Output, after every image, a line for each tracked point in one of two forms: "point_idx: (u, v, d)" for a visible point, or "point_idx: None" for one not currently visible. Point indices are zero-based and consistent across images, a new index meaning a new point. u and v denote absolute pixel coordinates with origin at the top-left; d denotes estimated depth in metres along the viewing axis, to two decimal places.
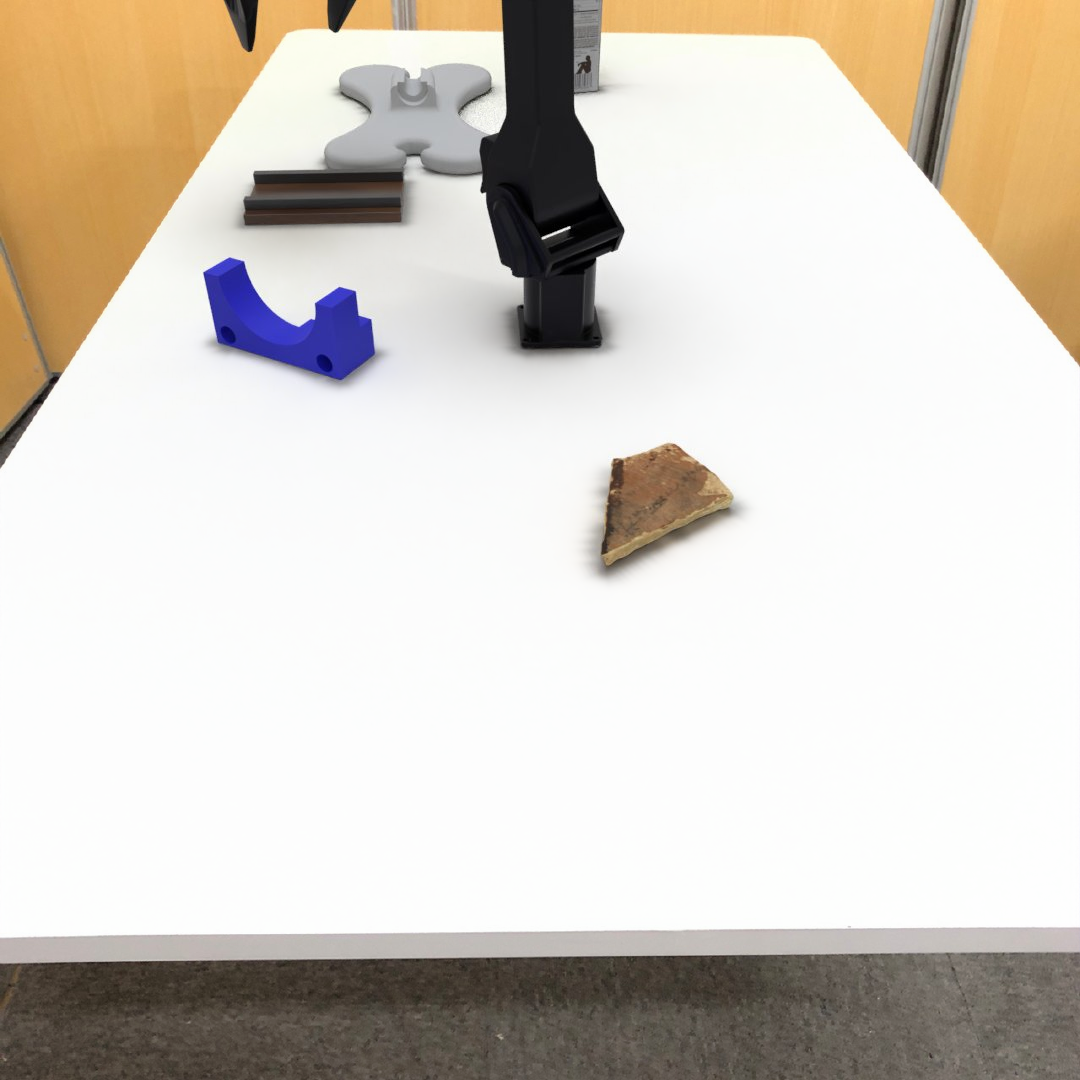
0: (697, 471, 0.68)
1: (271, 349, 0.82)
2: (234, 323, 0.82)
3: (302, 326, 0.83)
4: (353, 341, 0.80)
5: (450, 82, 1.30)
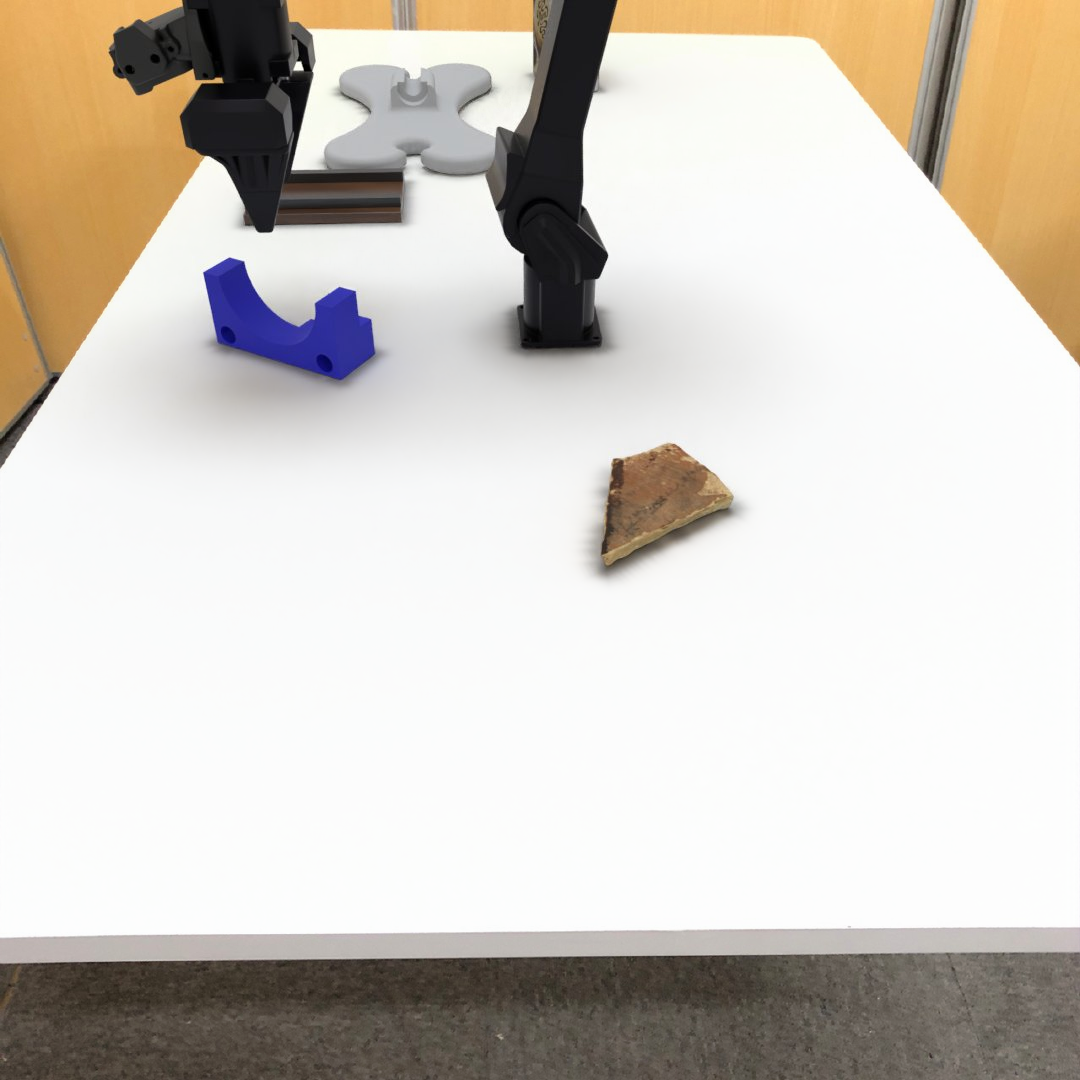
0: (697, 471, 0.68)
1: (271, 349, 0.82)
2: (234, 323, 0.82)
3: (302, 326, 0.83)
4: (353, 341, 0.80)
5: (450, 82, 1.30)
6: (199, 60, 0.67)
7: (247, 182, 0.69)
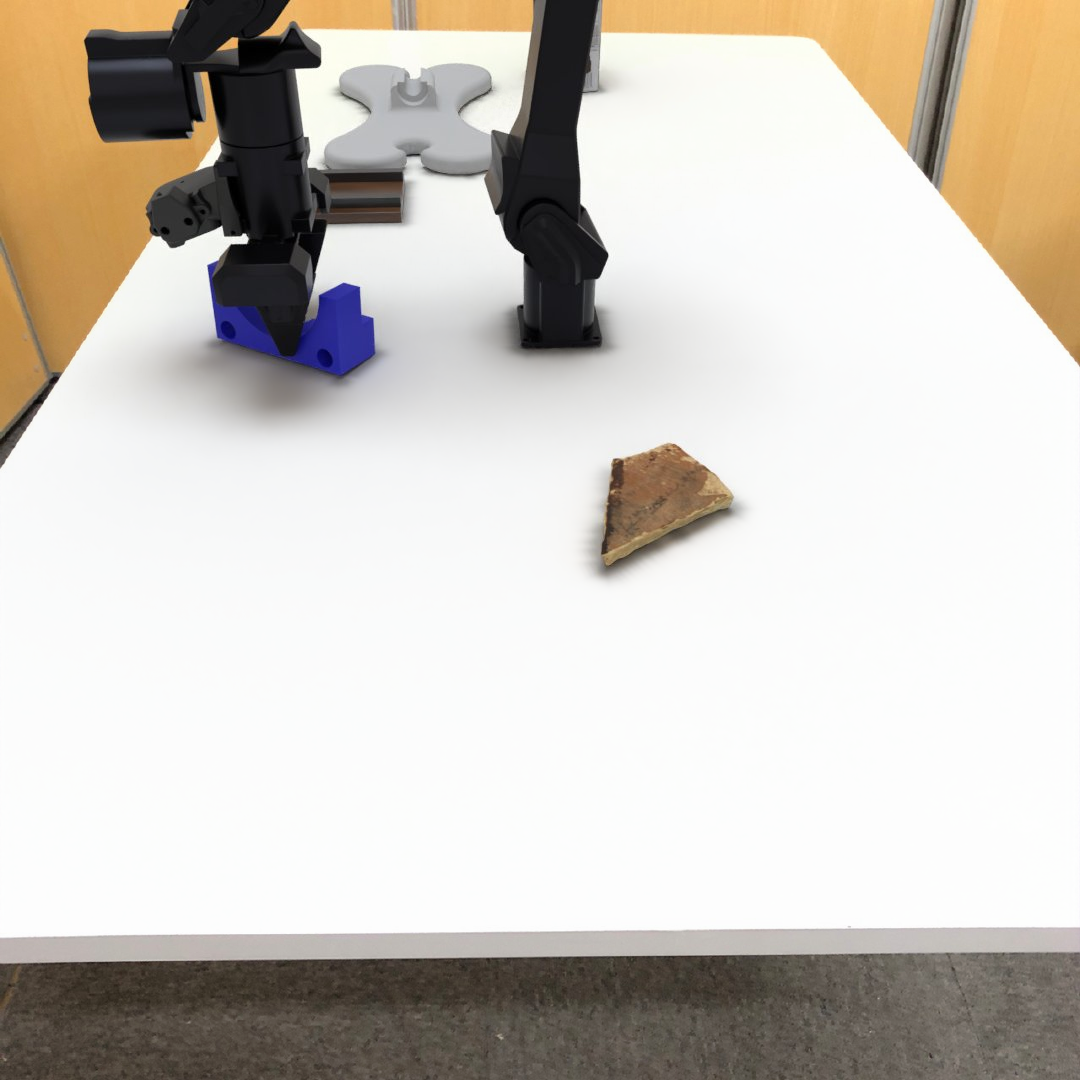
0: (697, 471, 0.68)
1: (271, 344, 0.82)
2: (235, 317, 0.82)
3: None
4: (354, 337, 0.80)
5: (450, 82, 1.30)
6: (228, 220, 0.74)
7: (273, 316, 0.77)
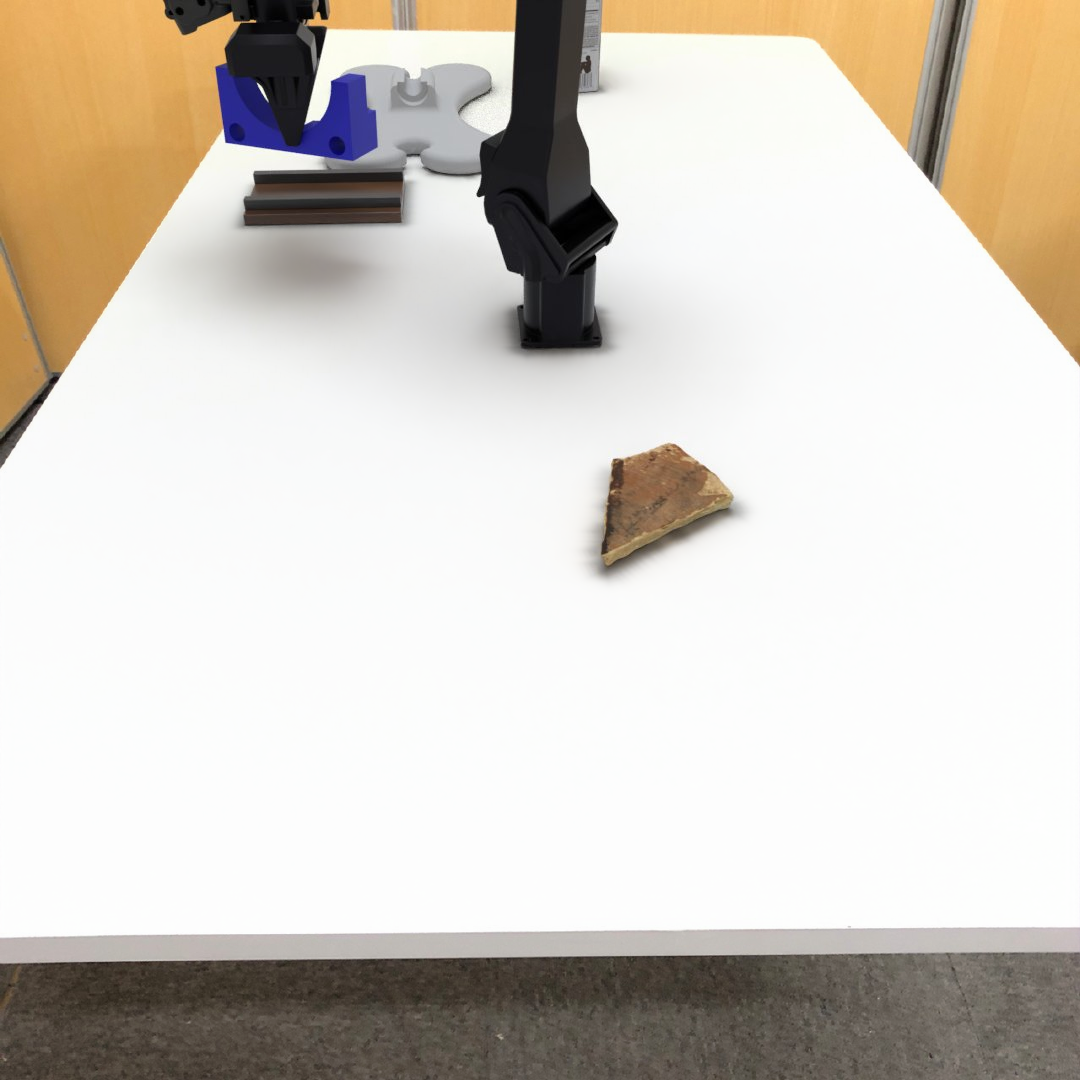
0: (697, 471, 0.68)
1: (282, 140, 0.88)
2: (244, 118, 0.88)
3: (307, 124, 0.89)
4: (362, 126, 0.87)
5: (450, 82, 1.30)
6: (237, 4, 0.80)
7: (280, 101, 0.84)
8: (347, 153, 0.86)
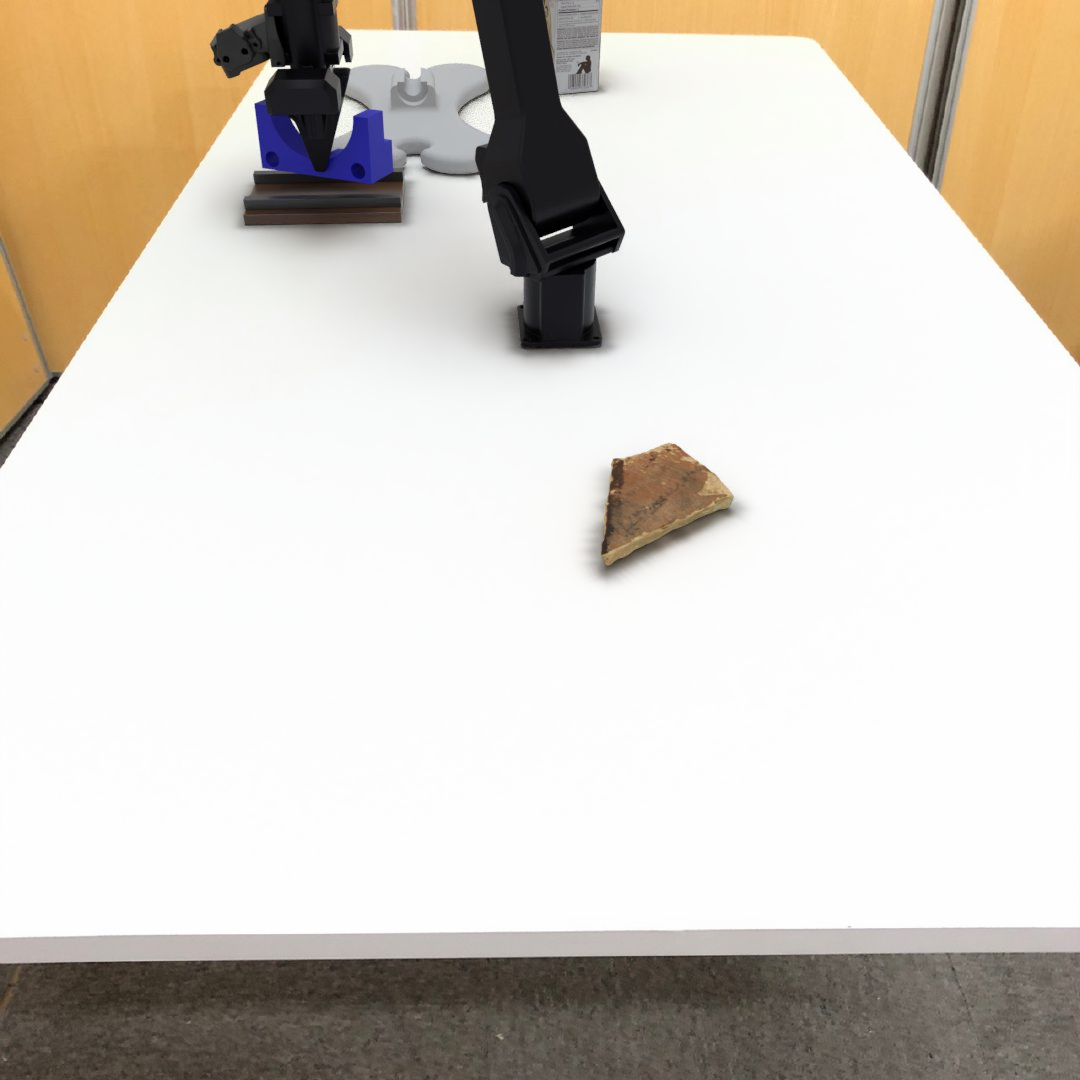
0: (697, 471, 0.68)
1: (311, 166, 1.02)
2: (279, 147, 1.02)
3: (333, 151, 1.04)
4: (380, 154, 1.01)
5: (450, 82, 1.30)
6: (274, 52, 0.94)
7: (310, 133, 0.98)
8: (367, 177, 1.00)
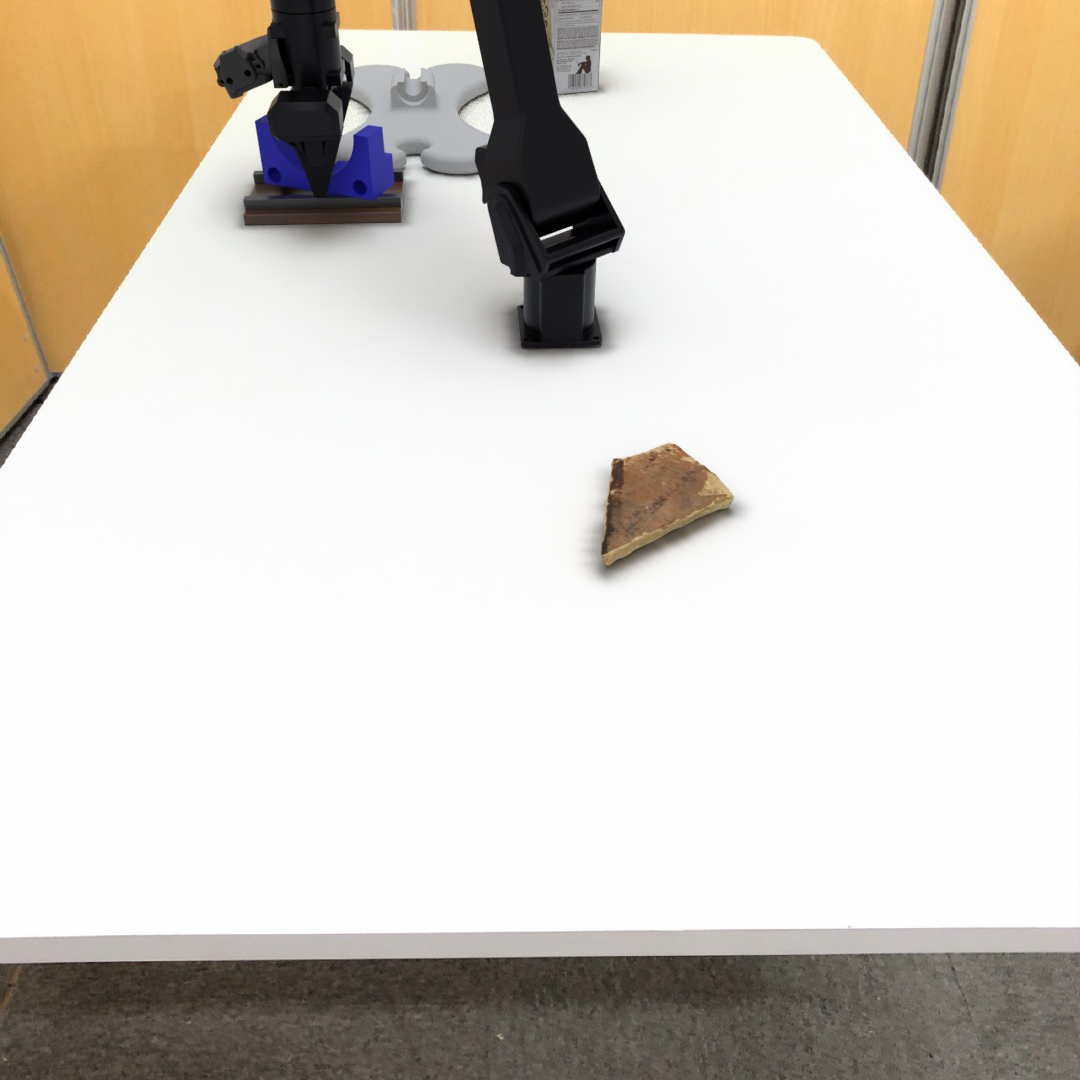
0: (697, 471, 0.68)
1: None
2: (280, 163, 1.03)
3: (334, 165, 1.04)
4: (380, 169, 1.01)
5: (450, 82, 1.30)
6: (277, 74, 0.95)
7: (309, 161, 0.97)
8: (368, 194, 1.01)
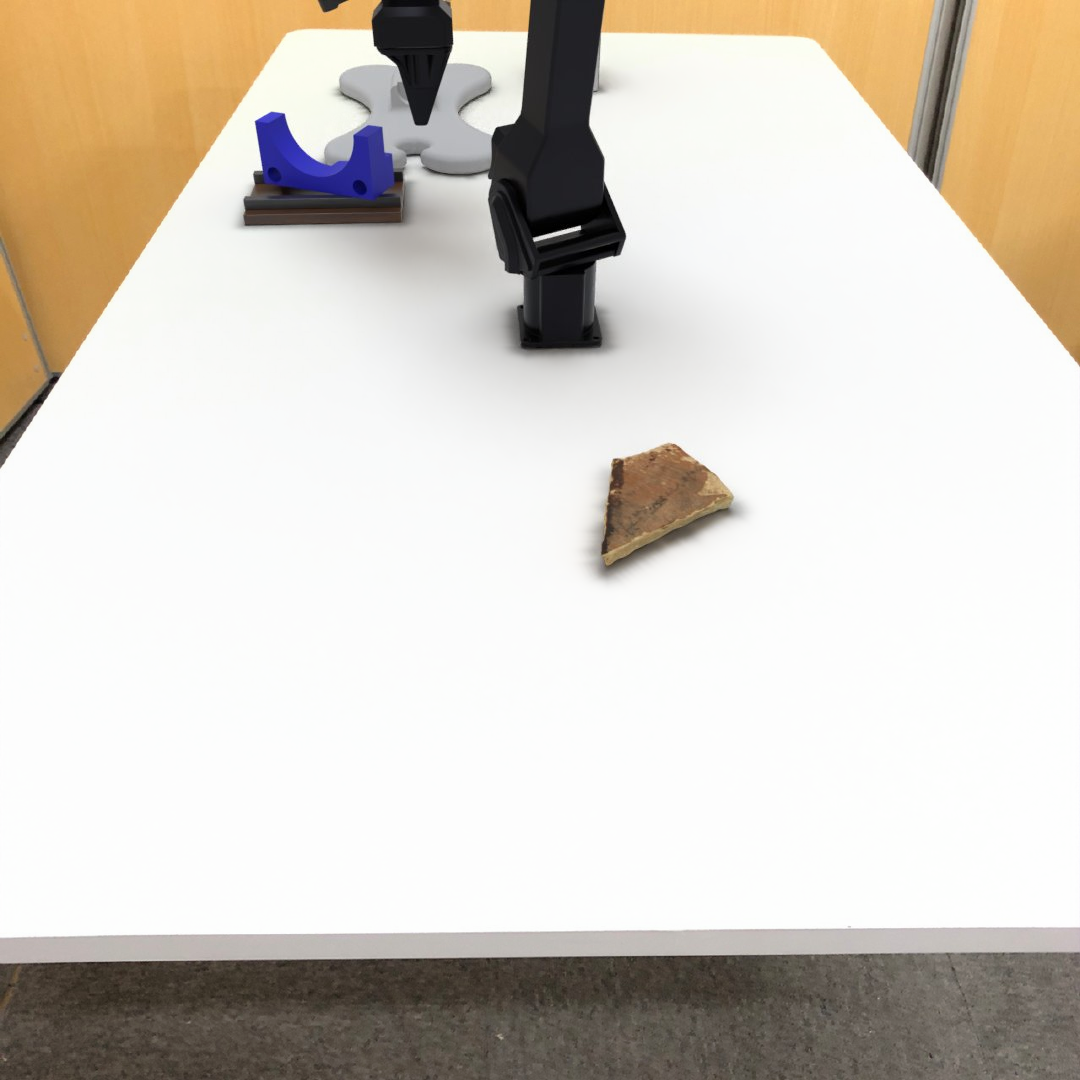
0: (697, 471, 0.68)
1: (313, 182, 1.03)
2: (280, 163, 1.03)
3: (334, 165, 1.04)
4: (380, 169, 1.01)
5: (450, 82, 1.30)
6: None
7: (413, 80, 0.87)
8: (368, 194, 1.01)
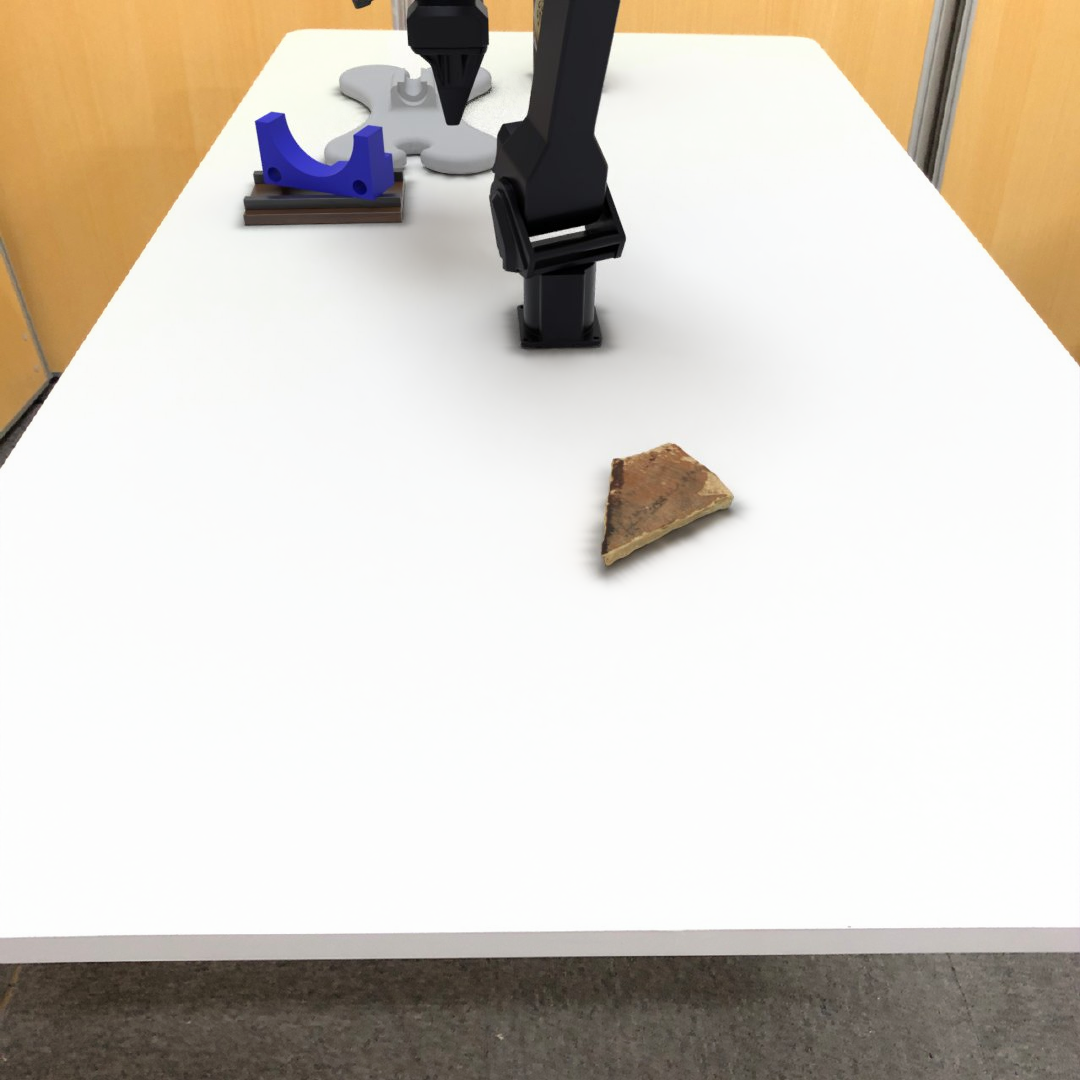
0: (697, 471, 0.68)
1: (313, 182, 1.03)
2: (280, 163, 1.03)
3: (334, 165, 1.04)
4: (380, 169, 1.01)
5: None
6: None
7: (446, 80, 0.85)
8: (368, 194, 1.01)
